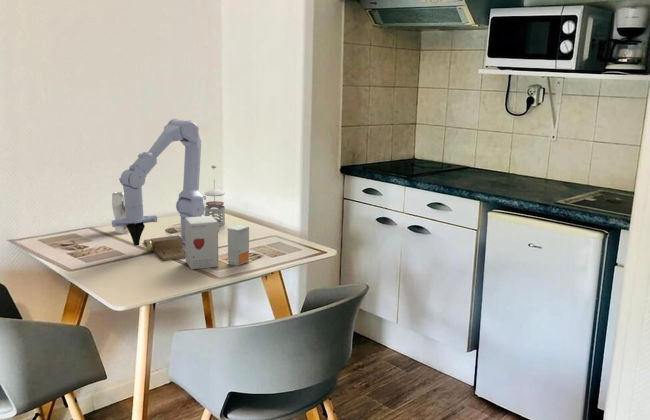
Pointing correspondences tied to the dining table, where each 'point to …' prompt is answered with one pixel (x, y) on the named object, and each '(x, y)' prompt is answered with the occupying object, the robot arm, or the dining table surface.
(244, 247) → the skincare box
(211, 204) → the french press
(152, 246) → the pin
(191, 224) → the supplement box
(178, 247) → the hinge
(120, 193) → the beer glass
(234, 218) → the dining table surface
